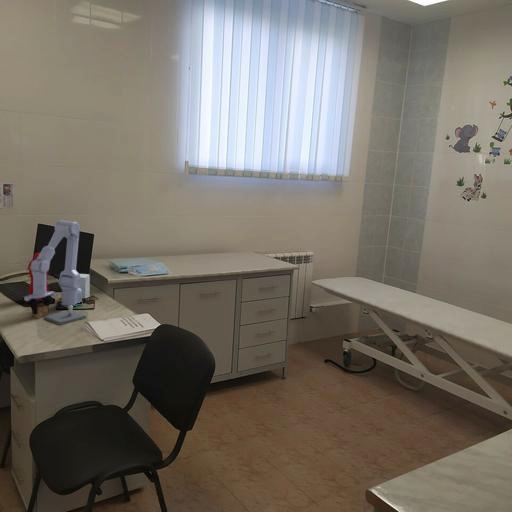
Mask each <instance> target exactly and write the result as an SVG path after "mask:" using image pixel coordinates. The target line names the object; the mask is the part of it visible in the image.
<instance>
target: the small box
mask: <svg viewBox="0 0 512 512" xmlns="http://www.w3.org/2000/svg"><path fill="white" fill-rule="evenodd" d="M79 274H80V280H81V284H80V287H79V288H80V289H81V290H82V298H87V297H89V298H90V296H91V295H90V294H91V293H90V291H91V289H90V288H91V287H90V286H91V285H90V283H91V282H90V280H91V279H90V278H91V277H90V274H89V273H88V274H87V273H79Z"/></svg>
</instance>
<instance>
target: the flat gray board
mask: <svg viewBox="0 0 512 512" xmlns="http://www.w3.org/2000/svg"><path fill="white" fill-rule="evenodd" d="M86 318H87V315H86V314H83V313H80V312H76V311H74V310H73V316H68V310H66V311H62V312H61V311H60V312H58V313H54V314H52V313H51V314H48V316H45V317H44V320H47V321H49V322H52V323H54V324H57V325H64V324H69V323H72V322H76V321H80V320H84V319H86Z"/></svg>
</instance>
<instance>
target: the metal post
mask: <svg viewBox="0 0 512 512" xmlns="http://www.w3.org/2000/svg"><path fill="white" fill-rule="evenodd" d="M67 309H68V310H67V311H68V316H73V311H74V310H73V309H74V307H73V306H72V305H69V306H68V308H67Z"/></svg>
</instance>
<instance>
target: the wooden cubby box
mask: <svg viewBox="0 0 512 512" xmlns="http://www.w3.org/2000/svg"><path fill="white" fill-rule="evenodd" d="M48 315H49V307H48V306H47V305H44V304H43V303H38V304H37V314H36V315H35V314H33V312H32V311H31V316H32V317H34V318H37V319H42V318H45V316H48Z"/></svg>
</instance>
